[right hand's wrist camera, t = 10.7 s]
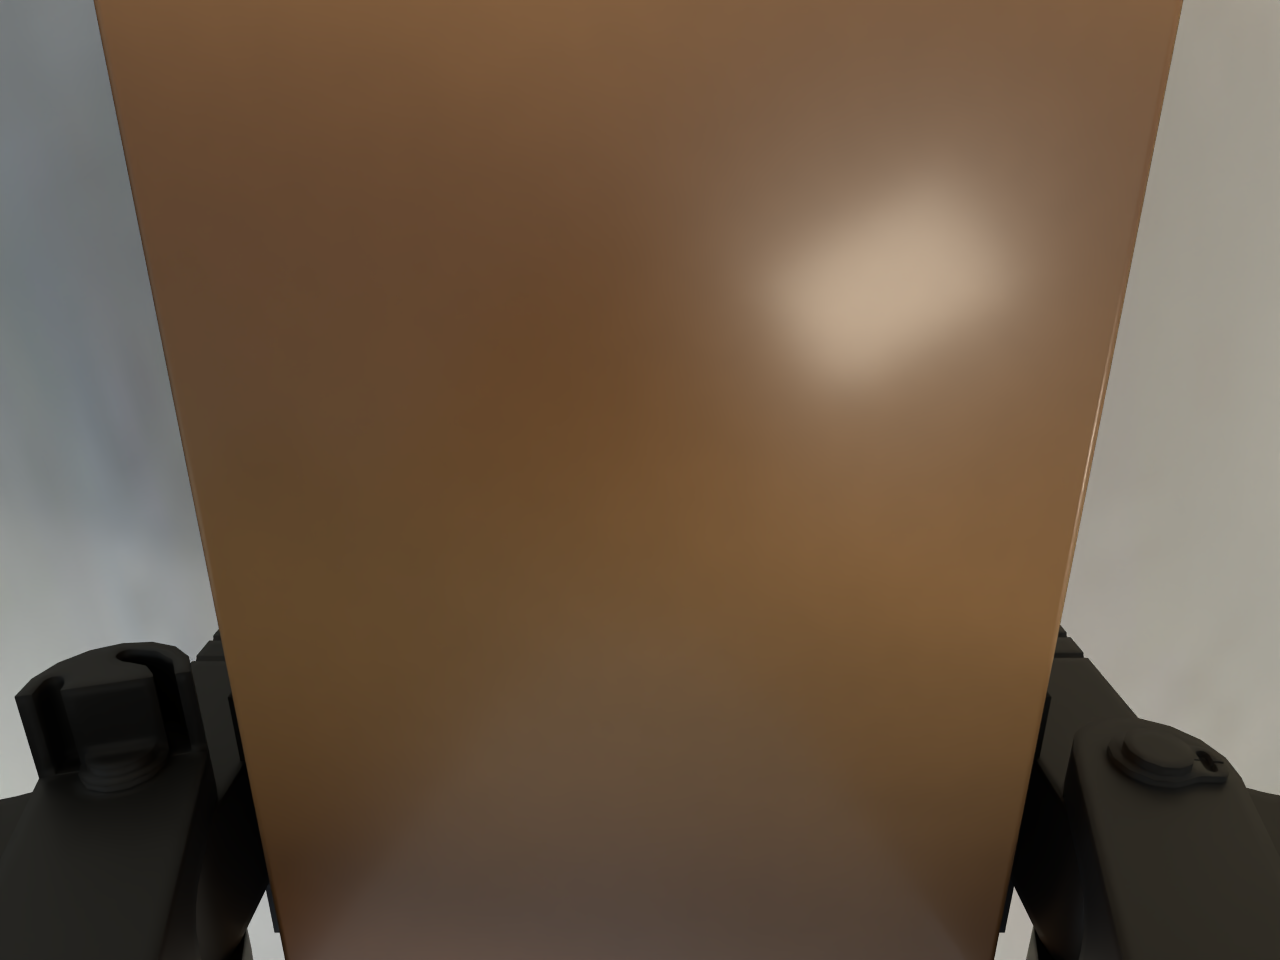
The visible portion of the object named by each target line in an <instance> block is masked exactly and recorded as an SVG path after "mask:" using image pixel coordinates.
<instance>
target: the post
mask: <svg viewBox="0 0 1280 960" xmlns="http://www.w3.org/2000/svg"><path fill="white" fill-rule="evenodd" d="M1182 4H1183V0H94V5H95V10H96V15H97V20H98V25H99V30H100V35H101V40H102V45H103V50H104V55H105V60H106V65H107V70H108V75H109V80H110V85H111V90H112V95H113V100H114V105H115V110H116V115H117V120H118V125H119V130H120V135H121V140H122V145H123V150H124V155H125V160H126V165H127V170H128V175H129V180H130V185H131V190H132V195H133V200H134V205H135V210H136V215H137V220H138V225H139V230H140V235H141V240H142V245H143V250H144V255H145V260H146V265H147V270H148V275H149V280H150V285H151V290H152V295H153V300H154V305H155V310H156V315H157V320H158V325H159V330H160V335H161V340H162V345H163V350H164V355H165V360H166V365H167V370H168V375H169V380H170V385H171V390H172V395H173V400H174V405H175V410H176V415H177V420H178V425H179V431H180V436H181V441H182V446H183V451H184V456H185V461H186V466H187V471H188V476H189V481H190V486H191V491H192V496H193V501H194V506H195V511H196V516H197V521H198V526H199V531H200V536H201V541H202V546H203V551H204V556H205V561H206V566H207V571H208V576H209V581H210V586H211V591H212V596H213V601H214V606H215V611H216V616H217V621H218V626H219V631H220V636H221V641H222V646H223V651H224V656H225V661H226V666H227V671H228V676H229V681H230V686H231V691H232V696H233V701H234V706H235V711H236V716H237V721H238V726H239V731H240V736H241V741H242V746H243V751H244V756H245V761H246V766H247V771H248V776H249V781H250V786H251V791H252V796H253V801H254V806H255V811H256V816H257V821H258V826H259V831H260V836H261V841H262V846H263V851H264V856H265V861H266V866H267V871H268V876H269V881H270V886H271V891H272V896H273V901H274V906H275V911H276V916H277V921H278V926H279V931H280V936H281V941H282V946H283V951H284V956H285V960H994V957H995V952H996V947H997V942H998V936H999V931H1000V926H1001V921H1002V916H1003V911H1004V906H1005V901H1006V896H1007V891H1008V886H1009V881H1010V876H1011V871H1012V865H1013V860H1014V855H1015V850H1016V845H1017V840H1018V835H1019V830H1020V825H1021V820H1022V815H1023V810H1024V805H1025V800H1026V794H1027V789H1028V784H1029V779H1030V774H1031V769H1032V764H1033V759H1034V754H1035V749H1036V744H1037V739H1038V734H1039V729H1040V723H1041V718H1042V713H1043V708H1044V703H1045V698H1046V693H1047V688H1048V683H1049V678H1050V673H1051V668H1052V663H1053V658H1054V653H1055V647H1056V642H1057V637H1058V632H1059V627H1060V622H1061V617H1062V612H1063V607H1064V602H1065V597H1066V592H1067V587H1068V582H1069V576H1070V571H1071V566H1072V561H1073V556H1074V551H1075V546H1076V541H1077V536H1078V531H1079V526H1080V521H1081V516H1082V511H1083V505H1084V500H1085V495H1086V490H1087V485H1088V480H1089V475H1090V470H1091V465H1092V460H1093V455H1094V450H1095V445H1096V440H1097V434H1098V429H1099V424H1100V419H1101V414H1102V409H1103V404H1104V399H1105V394H1106V389H1107V384H1108V379H1109V374H1110V369H1111V363H1112V358H1113V353H1114V348H1115V343H1116V338H1117V333H1118V328H1119V323H1120V318H1121V313H1122V308H1123V303H1124V298H1125V293H1126V287H1127V282H1128V277H1129V272H1130V267H1131V262H1132V257H1133V252H1134V247H1135V242H1136V237H1137V232H1138V227H1139V222H1140V216H1141V211H1142V206H1143V201H1144V196H1145V191H1146V186H1147V181H1148V176H1149V171H1150V166H1151V161H1152V156H1153V151H1154V145H1155V140H1156V135H1157V130H1158V125H1159V120H1160V115H1161V110H1162V105H1163V100H1164V95H1165V90H1166V85H1167V80H1168V74H1169V69H1170V64H1171V59H1172V54H1173V49H1174V44H1175V39H1176V34H1177V29H1178V24H1179V19H1180V14H1181V9H1182Z"/></svg>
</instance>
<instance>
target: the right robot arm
mask: <svg viewBox="0 0 1280 960" xmlns="http://www.w3.org/2000/svg"><path fill="white" fill-rule="evenodd" d="M15 700H16V703H17V707H18V710H19V713H20V717H21V720H22V723H23V726H24V730H25V733H26V736H27V740H28V743H29V746H30V750H31V753H32V756H33V759H34V763H35V766H36V769H37V773H38V776H39V780H38V782H37V784H36V786H35V788H34V790H33V792H31V793H27V794H23V795H20V796H16V797H11V798H6V799H1V800H0V960H253V956H252V949H251V944H250V939H249V935H248V930H247V927H248V925H249V923H250V921H251V919H252V917H253V915H254V913H255V911H256V909H257V907H258V905H259V902H260V900H261V898H262V896H263V894H264V892H265V890H266V892H267V897H268V902H269V907H270V912H271V917H272V922H273V927H274V932H275V933H280V931H279V926H278V921H277V916H276V911H275V906H274V901H273V896H272V891H271V886H270V881H269V876H268V871H267V866H266V861H265V856H264V851H263V846H262V841H261V836H260V831H259V826H258V821H257V816H256V811H255V806H254V801H253V796H252V791H251V786H250V781H249V776H248V771H247V766H246V761H245V756H244V751H243V746H242V741H241V736H240V731H239V726H238V721H237V716H236V711H235V706H234V701H233V696H232V691H231V686H230V681H229V676H228V671H227V666H226V661H225V656H224V651H223V646H222V641H221V636H220V631H219V630H218V631H217V632H216V633H215V634H214V636H213V641H209V642H208V643H207V644H206V645H205V646H204V648H203V649H202V650H201V651H200V652H199V654H198V655H197V659H196V661H192V662H191V663H190V660H189V656H187V655H186V654H185V653H183V652H182V651H181V650H179V649H178V648H177V647H175V646H170V645H165V644H160V643H155V642H139V643H122V644H117V645H112V646H108V647H103V648H99V649H94V650H90V651H87V652H85V653H82V654H79V655H77V656H74V657H72V658H69V659H66V660H64V661H61V662H59V663H57V664H55V665H54V666H52V667H50V668H49V669H47V670H45V671H44V672H42V673H40V674H39V675H37V676H35V677H34V678H32V679H31V680H30V681H29V682H28V683H27V684H26V685H25V686H24V687H23V688H22V689H21V691H20V692H19V693H18V694H17V695H16V696H15ZM1014 887H1015V889H1016V891H1017V893H1018V895H1019V897H1020V899H1021V901H1022V903H1023V905H1024V907H1025V909H1026V911H1027V914H1028V916H1029V918H1030V920H1031V922H1032V924H1033V930H1032V935H1031V939H1030V944H1029V949H1028V953H1027V958H1026V960H1280V796H1279V795H1274V794H1269V793H1265V792H1260V791H1257V790H1253V789H1249V788H1246V786H1245V784H1244V782H1243V780H1242V778H1241V777H1240V775H1239V774H1238V773H1237V772H1236V770H1235V769H1234V768H1233V766H1232V765H1231V764H1230V763H1229V761H1228V760H1227V759H1226V758H1225V757H1224V756H1223V755H1221V754H1220V753H1218V752H1217V751H1216V750H1214V749H1213V748H1211V747H1210V746H1208V745H1207V744H1206V743H1204V742H1203V741H1201V740H1200V739H1198V738H1195V737H1193V736H1191V735H1189V734H1186V733H1184V732H1182V731H1180V730H1177V729H1175V728H1173V727H1171V726H1167V725H1163V724H1159V723H1155V722H1151V721H1147V720H1143V719H1140V718H1138V717H1137V716H1136V715H1135V714H1134V713H1133V711H1132V710H1131V709H1130V708H1129V707H1128V705H1127V704H1126V703H1125V702H1124V701H1123V699H1122V698H1121V697H1120V696H1119V695H1118V693H1117V692H1116V691H1115V690H1114V689H1113V687H1112V686H1111V685H1110V684H1109V683H1108V682H1107V680H1106V679H1105V678H1104V677H1103V676H1102V674H1101V673H1100V672H1099V671H1098V670H1097V668H1096V667H1095V666H1094V665H1093V664H1092V662H1091V661H1090V660H1089V659H1088V658H1084V656H1083V652H1082V650H1081V649H1080V648H1079V647H1078V646H1077V645H1076V643H1075V642H1074V641H1073V640H1072V639H1071V637H1067V636H1066V631H1065V630H1064V629H1063V628H1062V627H1061V625H1060V627H1059V632H1058V637H1057V642H1056V647H1055V653H1054V658H1053V663H1052V668H1051V673H1050V678H1049V683H1048V688H1047V693H1046V698H1045V703H1044V708H1043V713H1042V718H1041V723H1040V729H1039V734H1038V739H1037V744H1036V749H1035V754H1034V759H1033V764H1032V769H1031V774H1030V779H1029V784H1028V789H1027V794H1026V800H1025V805H1024V810H1023V815H1022V820H1021V825H1020V830H1019V835H1018V840H1017V845H1016V850H1015V855H1014V860H1013V865H1012V871H1011V876H1010V881H1009V886H1008V891H1007V896H1006V901H1005V906H1004V911H1003V916H1002V921H1001V926H1000V931H999V933H1005V928H1006V923H1007V918H1008V913H1009V908H1010V903H1011V898H1012V893H1013V888H1014Z"/></svg>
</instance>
